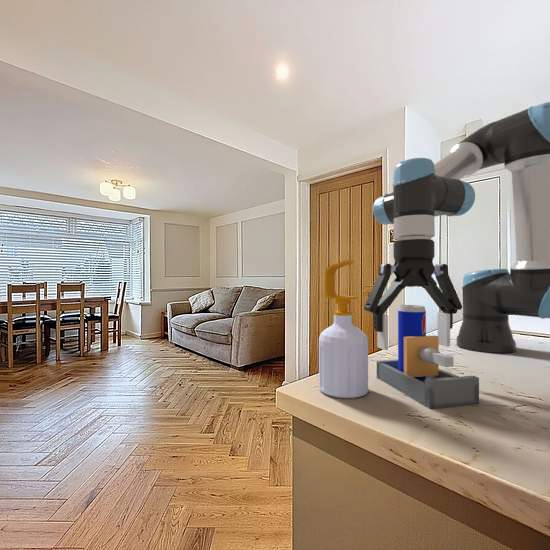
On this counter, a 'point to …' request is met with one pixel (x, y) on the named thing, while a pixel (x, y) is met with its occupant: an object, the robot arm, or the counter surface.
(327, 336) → the soap bottle
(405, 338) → the pusher
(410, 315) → the beverage can
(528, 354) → the counter surface
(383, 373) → the grey tray
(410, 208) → the robot arm
